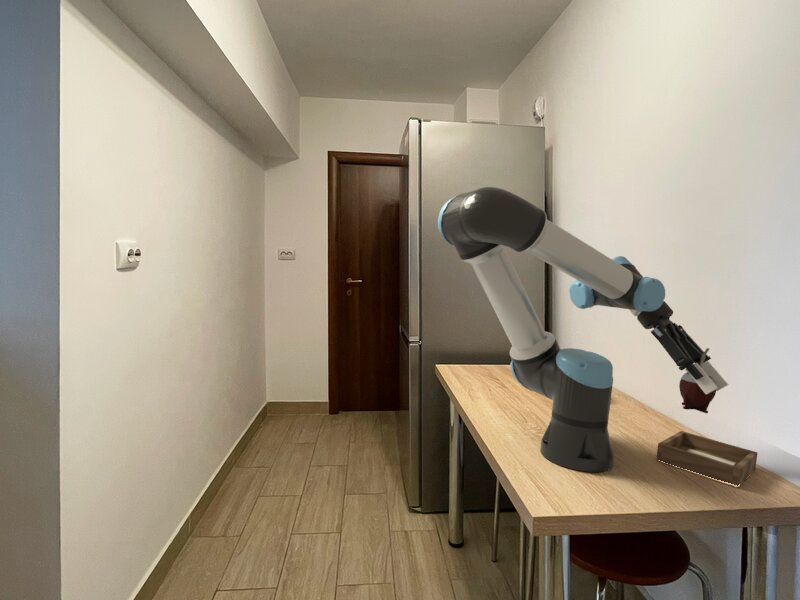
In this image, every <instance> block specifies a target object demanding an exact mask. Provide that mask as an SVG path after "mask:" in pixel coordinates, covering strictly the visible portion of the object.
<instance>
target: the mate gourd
mask: <svg viewBox="0 0 800 600" xmlns="http://www.w3.org/2000/svg"><path fill="white" fill-rule="evenodd" d="M709 350H710V348H709V347H707V348H705V350H704V353H703V355H702V356H701V359H700V360H701V362H700V367H701V368H702V366H703V362H704V360H705V355H708V352H709ZM709 377H710V379H711V380H712V381H713V382H714V383H715V381H714V379H713V378H712V377H711V376H709ZM678 384H679V385H678V386H679V392H680V396H681V398H682V400H683V402H681V405H682V409H684V410H695V411H698V412H701V413H704V414H708V413H709V411H708V407H709V406H710V404H711V402H712V401H713V400H714V399H715V396H716V393H717V391H716V390H714V391H712V392H710V393H708V394H705V393H704V392H703V390H702V389H701V388H700V387H699V385H698V384H697V383H696V382H695V381H694V379H693V378H692V377H691V376H690V375H689V373H688V372H687V371H686V372H685V373H683V375H682V376H681V378H680V380H679V383H678ZM715 384H716V383H715Z"/></svg>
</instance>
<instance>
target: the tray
mask: <svg viewBox="0 0 800 600" xmlns="http://www.w3.org/2000/svg"><path fill="white" fill-rule="evenodd" d="M656 451H657V452H656V457H655V460H656V459H657V460H660V461H663V462H665V463H668V464H671V465H674V466H677V467H680V468H683V469H687V470H690V471H693V472H696V473H699V474H702V475H705V476H708V477H711V478H714V479H717V480H721V481H724V482H728V483H731V484H734V485H737V486H738V485H739V484H741V483H742V482H743V481H744V480H745V479H746V478H747V477H748V476H749V475H750V474H751V475H753V473H754V472H755V471H756V470H757V469H756V468H757V460H758V452H757V451H754V450H750V449H747V448H743V447H740V446H736V445H733V444H729V443H726V442H722V441H718V440H714V439H711V438H707V437H704V436H700V435H697V434H693V433H690V432H687V431H684V430H679V432H676V433H675V434H673V435H671V436H669V437H668V438H666V439H663V441H661V442H659V443H657V449H656ZM751 475H750V476H751ZM750 476H749V477H750ZM749 477H748V478H749ZM748 478H747V479H748ZM747 479H746V480H747ZM746 480H745V481H746ZM745 481H744V482H745ZM744 482H743V483H744ZM743 483H742V484H743Z"/></svg>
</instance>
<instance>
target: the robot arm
mask: <svg viewBox="0 0 800 600" xmlns="http://www.w3.org/2000/svg"><path fill="white" fill-rule="evenodd" d="M437 228H438V232H439V234H440V237H441V238H442V239H443V240H444V241H445V242H446V243H447V244H448V245H451V246H453V247H454V248H455V251H456V252H457V254H458V255H459V258H460V260H461V262H465V263H468V264H470V265H471V267H472V269H473V271H474V273H475V275H476V277H477V280H478V281H479V283H480V285H481V287H482V289H483V291H484V293H485V295H486V297H487V299H488V300H489V303H490V305H491V306H492V309H493V311H494V312H495V314H496V316H497V318H498V320H499V322H500V325H501V327H502V328H503V330H504V333H505V335H506V337H507V338H508V341H509V342H510V345H511V347H510V350H509V356H510V359H511V362H510V372H511V374H512V376H513V378H514V380H515V381H516V382H518V384H520V385H521V386H522V387H524V388H526V389H527V390H529V391H531V392H535V393H537V394H539V395H541V396H543V397H545V398H547V399H549V400H552V407H551V417H550V421H549V423H548V425H547V428H546V430H545V431H544V434H543V436H542V438H541V442H540V453H541V455H542V456H543V457H544V458H545V459H547V460H548V461H550V462H552V463H554V464H556V465H559V466H561V467H564V468H568V469H571V470H575V471H580V470H581V472H589V473H590V472H591V473H594V472H595V473H598V472H597V471H601V472H605V471H604V470H606V471H609V470H611V469H612V468H613V467H614V459H615V458H614V457H615V454H614V450H613V447H612V446H613V445H612V442H611V438H610V433H609V429H608V428H609V427H608V426H609V417H610V408H611V399H612V393H613V392H612V391H613V384H614V377H613V376H614V375H613V373H614V368H613V364H612V362H611V361H610V360H609V359H608V358H606V357H605V356H603V355H601V354H598V353H596V352H594V351H593V352H592V351H587V350H585V349H579V348H572V347H571V348H570V347H568V348H562V349H561V347H560V346H559V343H558V341H557V339H556V337H555V335H554V333H551V332H549V331H545V328H544V327H543V324H542V322H541V321H540V319H539V316H538V314H537V311H536V310H535V308H534V306H533V304H532V302H531V300H530V297H529V295H528V293H527V292H526V289H525V286H524V285H523V283H522V281H521V279H520V276H519V275H518V272H517V270H516V269H515V266H514V264H513V262H512V260H511V258H510V256H509V254H508V252H507V250H506V248H505V247H508V248H510V249H512V250H514V251H515V252H517V253H524V252H527V253H528V254H531V255H533V256H534V257H536V258H538V259H539V260H541V261H543V262H545V263H546V264H548V265H550V266H552V267H553V268H555V269H557V270H559V271H561V272H562V273H564V274H566V275H567V276H569V277H571V278H573V279H575V280H574V281H573V282H571V284H570V285H569V290H568V294H569V298H570V300H571V302H572V304H573V305H574V306H575V307H576V308H578V309H581V310H584V309H589V308H590V309H591V308H593V307H594V306H595V307H596V306H602V307H609V308H617V309H623V310H628V311H630V313H631V314H632V315H633V316H634V317H636V320H637V321H638V322H639V323H640V324H641V326H642V327H643V329H645V330H650V333H651V335H653V337H654V338H655V339H656V341H658V342H659V343H660V345H661V346H662V347H663V349H664V350H665V352H667V354H668V355H669V357H670V359H672V360H673V361H674V363H675V365H676V366H677V367H678V370H680V371H683V370H685V371H686V373H687V372H688V373H689V375H690V376H691V377H692V378H693V379H694V381H695V382H696V383H697V384H698V385H699V387H700V388H701V389H702V390H703V392H704V393H705V394H708V393H710V392H712V391H714V390H716V392H718V391H720V390H723V388H726V387H727V386H729V383H728V382H727V381H726V380H725V378H724V377H723V376H722V375H721V374H720V373H719V371H718V370H717V369H716V368H715V366H713V365H712V364H711V362H710V360H711V359H712V358H711V356H709V355H708V354H706V355H705V360H704V362H703V366H702V368H701V367H700V362H701V360H700V359H701V356H702V355H703V353H704V352H705V350H703V349H702V348H701V347H700V346H699V345H698V344H697V343H696V341H695V340H694V339H693V338H692V336H690V335H689V334H688V333H687V331H686V330H685V329H684V328H683V326H682V325H681V324H677V323H675V322H673V321H672V320H670V319H671V317H672V316H673V314H674V310H673V309H672V308H671V307H670V305H668V303H667V302H666V301H664V300H665V298H666V288H665V286H664V284H663V282H662V281H661V280H659V279H658V278H656V277H649V276H644V277H643V275H642V274H641V272H640V271H639V269H637V268H636V266H635V265H634V264H633V263H631V261H630V260H628V259H627V258H626V257H625V256H621V255H618V256H615V257H613V258H610V257H609V256H607V255H605V254H604V253H602V252H601V251H599V250H597V249H596V248H594V247H592V246H591V245H589V244H588V243H586V242H584V241H583V240H581V239H579V238H578V237H576V236H575V235H573V234H571V233H570V232H568V231H567V230H565V229H564V228H562V227H560V226H559V225H557V224H555V223H554V222H552V221H550V220H549V219H548V216H547V213H546V212H545V210H543V209H541V208H539V207H538V206H536V205H535V204H533V203H532V202H530V201H528V200H526V199H525V198H523V197H521V196H519V195H516V194H515V193H513V192H512V191H508V190H506V189H504V188H500V187H495V186H494V187H493V186H484V187H481V188H480V187H479V188H477V189H474V190H471V191H468V192H464V193H460V194H458V195H455V196H454V197H452V198H450V199H448V200H447V201H446V202H445V203H444V205H442V207H441V208H440V211H439V213H438V217H437ZM709 376H711V377H712V378H713V379H714V381H715V383H716V384H715V383H714V382H713V381H712V380H711V379H710V377H709ZM612 466H613V467H612ZM611 467H612V468H611ZM610 468H611V469H610ZM608 469H609V470H608Z"/></svg>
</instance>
